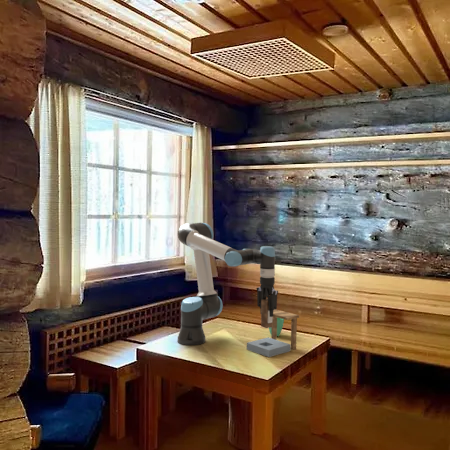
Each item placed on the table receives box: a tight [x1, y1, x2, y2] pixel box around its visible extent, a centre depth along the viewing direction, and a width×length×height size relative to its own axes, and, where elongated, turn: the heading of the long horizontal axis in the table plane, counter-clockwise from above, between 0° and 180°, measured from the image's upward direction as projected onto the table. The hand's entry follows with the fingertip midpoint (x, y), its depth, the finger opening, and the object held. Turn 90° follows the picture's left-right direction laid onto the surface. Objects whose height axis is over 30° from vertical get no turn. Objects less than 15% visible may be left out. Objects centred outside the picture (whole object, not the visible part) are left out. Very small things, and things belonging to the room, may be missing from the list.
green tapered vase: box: [268, 318, 285, 337], centre depth 287 cm, size 15×10×10 cm
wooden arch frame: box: [270, 309, 300, 351], centre depth 262 cm, size 18×9×18 cm, turn 41°
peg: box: [260, 298, 272, 329], centre depth 254 cm, size 4×4×14 cm
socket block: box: [246, 337, 291, 358], centre depth 257 cm, size 16×16×4 cm
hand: (266, 321), depth 255 cm, fingers closed on peg, 4 cm apart
